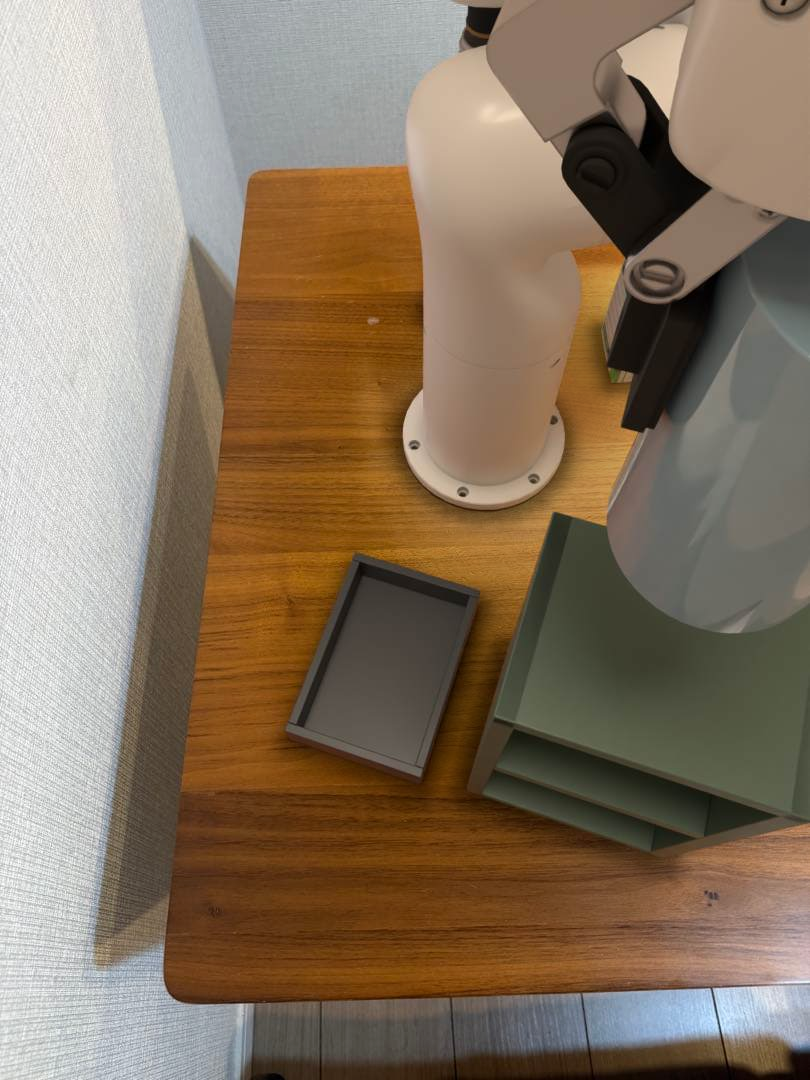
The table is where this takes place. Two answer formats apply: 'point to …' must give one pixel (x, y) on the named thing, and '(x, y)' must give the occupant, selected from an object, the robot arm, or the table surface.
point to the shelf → (643, 712)
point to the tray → (384, 667)
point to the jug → (730, 456)
